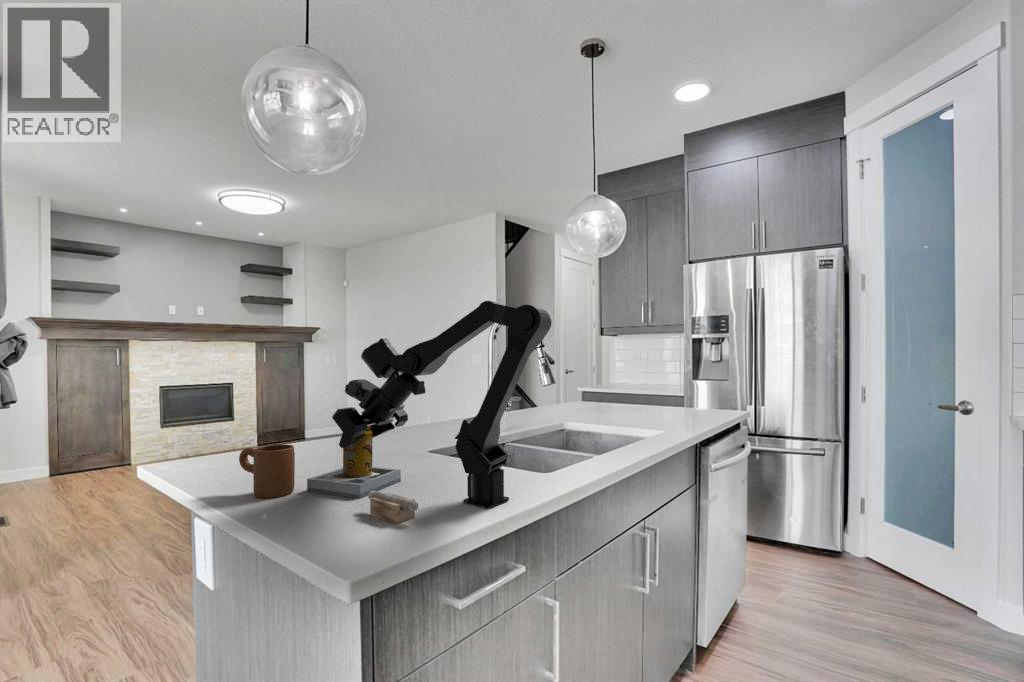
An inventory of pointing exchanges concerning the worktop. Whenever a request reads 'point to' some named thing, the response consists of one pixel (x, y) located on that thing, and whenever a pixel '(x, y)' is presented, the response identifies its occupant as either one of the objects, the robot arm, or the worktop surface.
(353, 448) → the condiment
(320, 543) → the worktop surface
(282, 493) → the mug
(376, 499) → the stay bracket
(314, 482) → the grey shallow square tray
